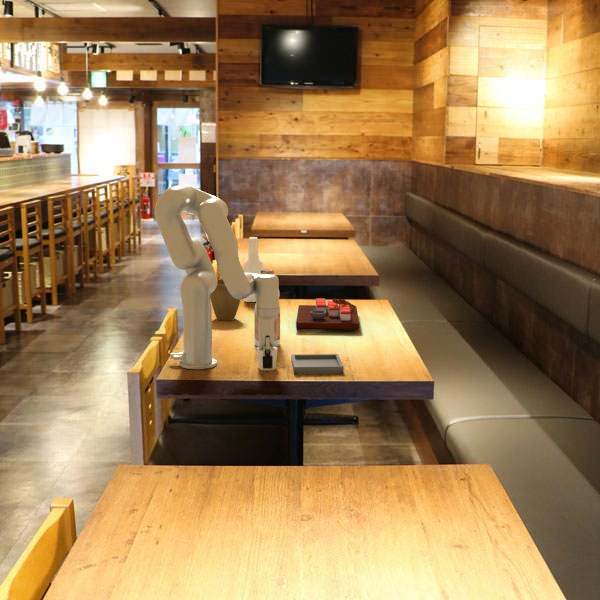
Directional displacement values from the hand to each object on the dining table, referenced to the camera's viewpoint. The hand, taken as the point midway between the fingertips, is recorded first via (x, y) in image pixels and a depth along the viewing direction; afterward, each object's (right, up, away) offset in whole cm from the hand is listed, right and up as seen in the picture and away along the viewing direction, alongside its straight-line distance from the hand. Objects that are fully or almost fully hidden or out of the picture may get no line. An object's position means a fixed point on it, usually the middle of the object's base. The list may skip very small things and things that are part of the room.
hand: (267, 364), depth 276 cm
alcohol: (-11, +21, +113) cm, 115 cm away
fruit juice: (-1, +5, +32) cm, 32 cm away
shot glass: (0, -1, 0) cm, 1 cm away
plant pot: (-20, +13, +75) cm, 78 cm away
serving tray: (+16, -1, +1) cm, 17 cm away
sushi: (+22, +11, +68) cm, 72 cm away
